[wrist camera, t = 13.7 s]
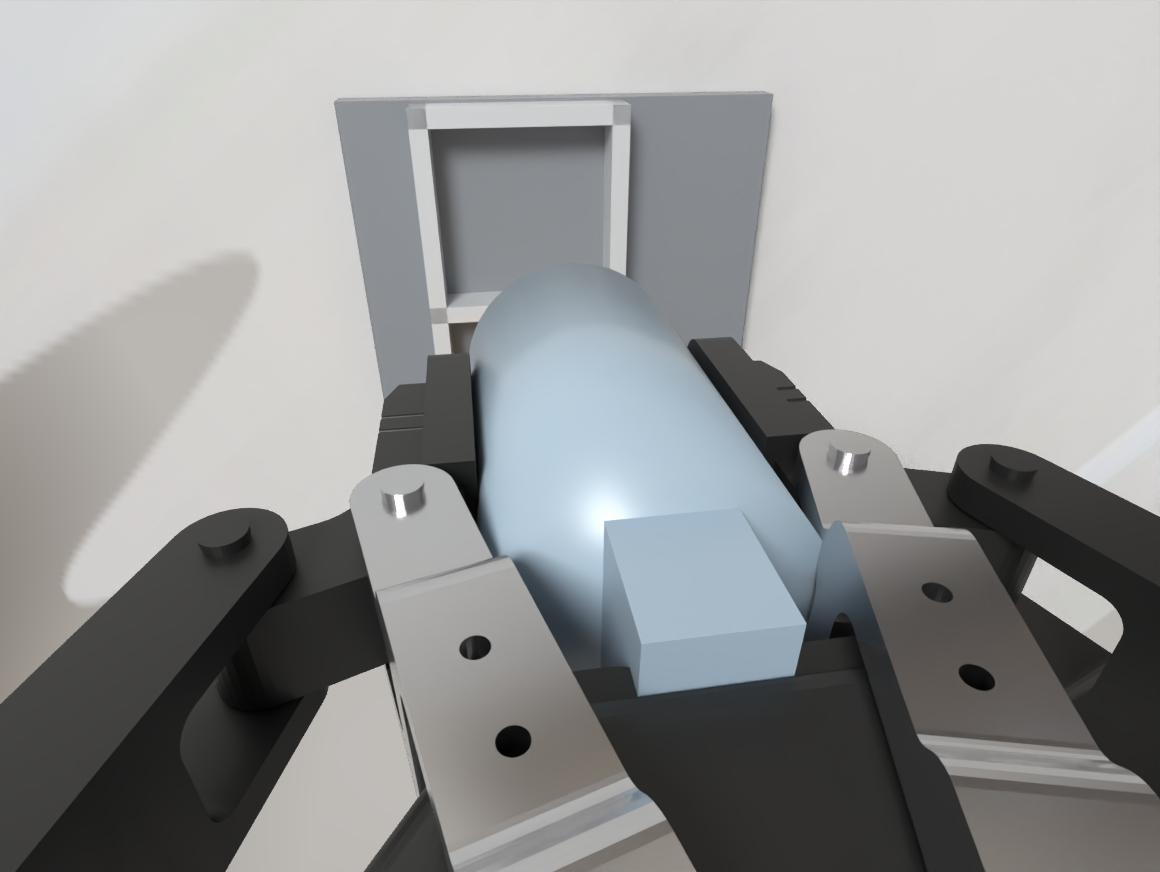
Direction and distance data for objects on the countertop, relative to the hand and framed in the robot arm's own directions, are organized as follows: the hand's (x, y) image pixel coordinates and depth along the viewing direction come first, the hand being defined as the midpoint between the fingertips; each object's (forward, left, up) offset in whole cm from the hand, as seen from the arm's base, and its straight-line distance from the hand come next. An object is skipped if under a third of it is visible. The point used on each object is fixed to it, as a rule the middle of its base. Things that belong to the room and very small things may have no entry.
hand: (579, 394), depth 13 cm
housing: (-1, +4, -16) cm, 16 cm away
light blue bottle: (0, 0, -1) cm, 1 cm away
